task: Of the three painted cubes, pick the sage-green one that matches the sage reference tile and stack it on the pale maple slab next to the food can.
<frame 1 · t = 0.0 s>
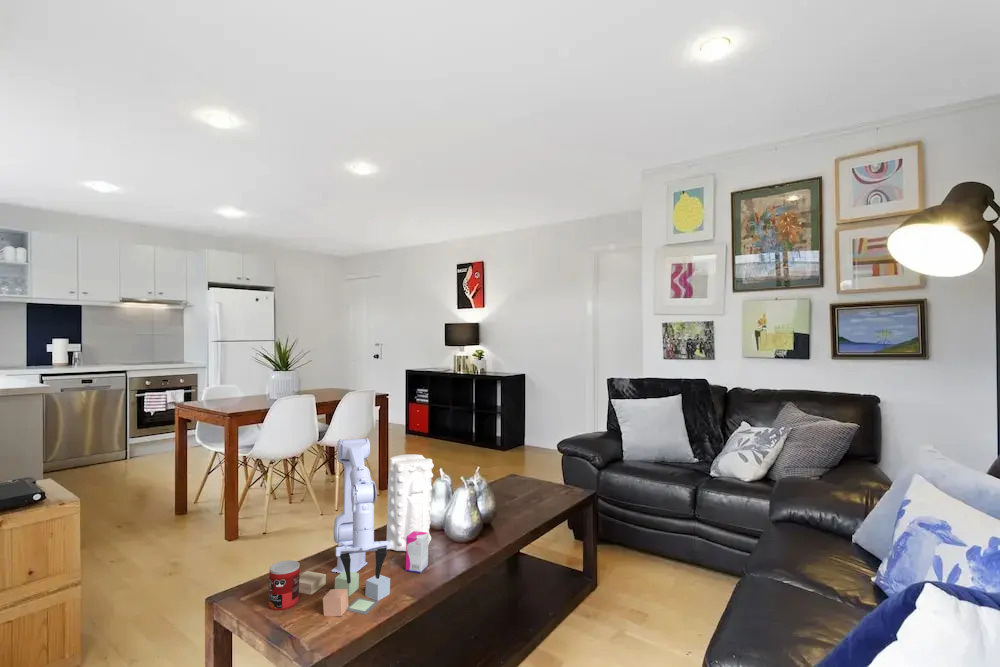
hand: (363, 580, 138), 11 cm above the table, tool pointing down, fingers open, 7 cm apart
slate blue cube: (377, 596, 151), on the table
sage cube: (346, 592, 153), on the table
maple slab: (308, 589, 154), on the table
canned food: (283, 605, 145), on the table
supplement box: (416, 569, 169), on the table
vase: (408, 544, 189), on the table
reference tile: (361, 606, 144), on the table
terracotta cube: (336, 611, 141), on the table, tilted 6°, touching reference tile
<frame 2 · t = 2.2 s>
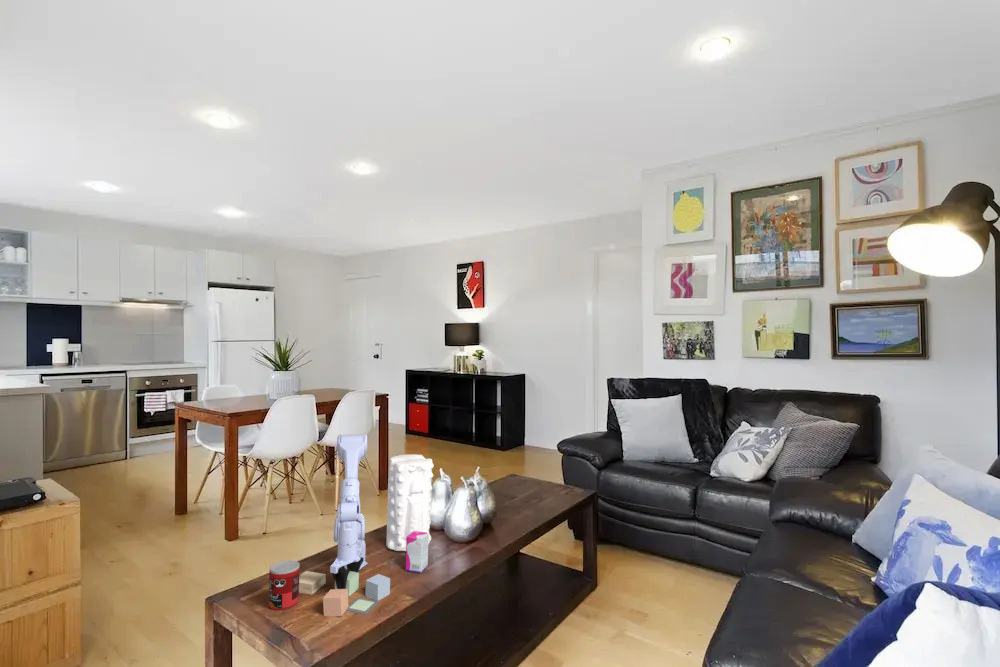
hand: (346, 586, 153), 1 cm above the table, tool pointing down, fingers closed on sage cube, 5 cm apart
sage cube: (346, 591, 153), on the table, touching gripper
everything else where it was.
when the fingers open (6 cm above the table, at t = 5.1 s): sage cube drops 1 cm, resting on maple slab.
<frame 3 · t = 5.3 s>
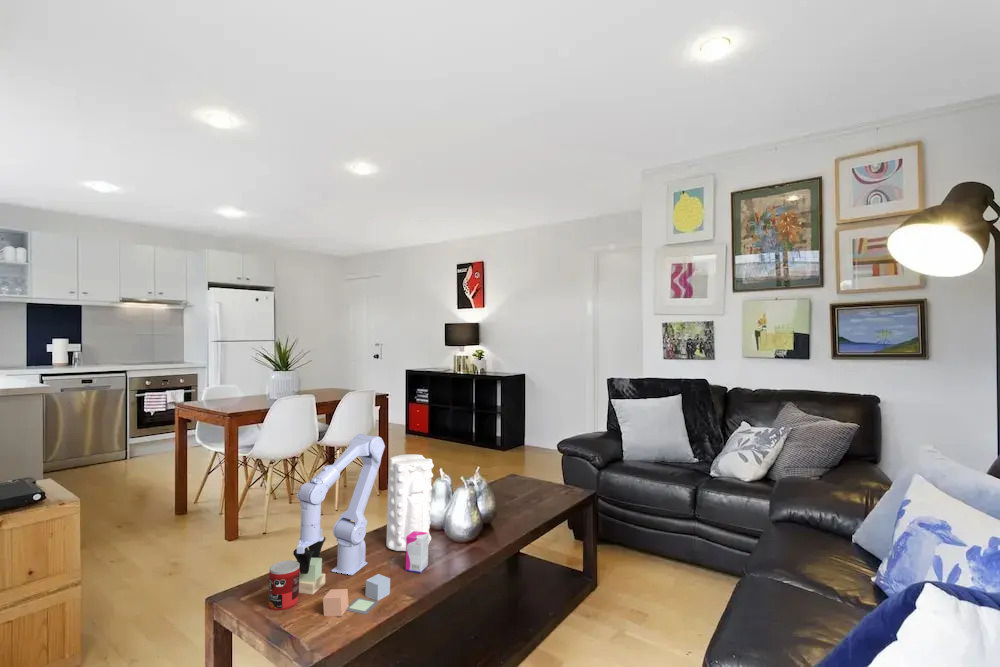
hand: (309, 567, 154), 6 cm above the table, tool pointing down, fingers open, 7 cm apart
sage cube: (310, 577, 154), point 3 cm above the table, touching maple slab
maple slab: (308, 589, 154), on the table, touching sage cube
everything else where it was.
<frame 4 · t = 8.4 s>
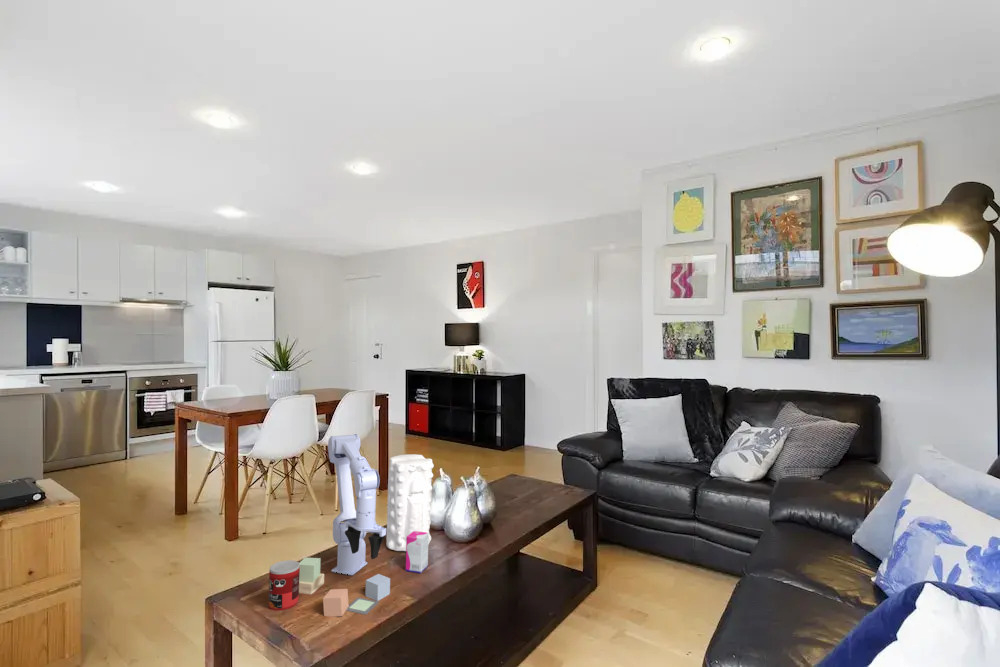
hand: (364, 555, 154), 10 cm above the table, tool pointing down, fingers open, 7 cm apart
sage cube: (308, 577, 154), point 3 cm above the table
maple slab: (307, 589, 154), on the table
everything else where it was.
at the end: sage cube 0.4 cm off-centre on the maple slab, point 3.5 cm above the maple slab's base; sage cube tilted 0°; terracotta cube moved 0.3 cm from its start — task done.
